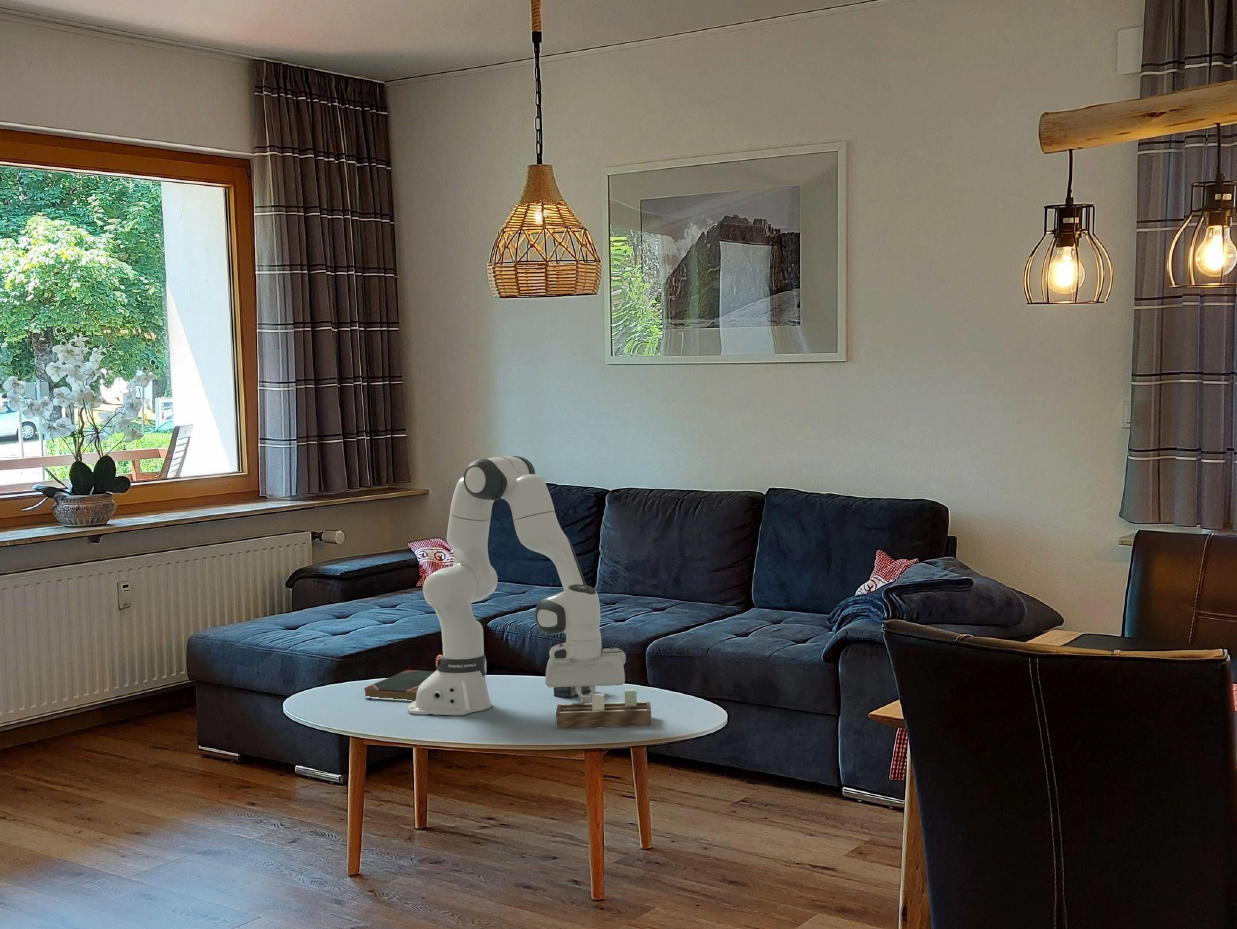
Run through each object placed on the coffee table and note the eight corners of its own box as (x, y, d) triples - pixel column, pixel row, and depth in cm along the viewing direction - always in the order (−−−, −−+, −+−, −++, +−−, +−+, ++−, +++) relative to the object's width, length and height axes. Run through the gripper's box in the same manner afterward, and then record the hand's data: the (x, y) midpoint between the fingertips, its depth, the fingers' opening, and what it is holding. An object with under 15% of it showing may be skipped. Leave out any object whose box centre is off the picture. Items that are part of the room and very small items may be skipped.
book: (407, 681, 381) (362, 700, 358) (406, 669, 381) (362, 688, 358) (458, 684, 375) (417, 704, 352) (458, 672, 375) (416, 691, 352)
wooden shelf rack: (556, 728, 319) (555, 712, 319) (558, 719, 328) (557, 703, 328) (651, 726, 319) (650, 709, 319) (650, 717, 328) (650, 701, 328)
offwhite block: (592, 717, 320) (592, 696, 320) (592, 715, 323) (592, 693, 322) (604, 717, 320) (603, 695, 320) (604, 715, 323) (603, 693, 322)
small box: (575, 688, 363) (574, 652, 362) (593, 691, 359) (592, 654, 358) (552, 696, 354) (551, 659, 354) (570, 699, 350) (569, 661, 350)
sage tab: (625, 713, 324) (624, 691, 324) (625, 710, 327) (624, 689, 326) (636, 712, 324) (636, 691, 324) (636, 710, 327) (636, 688, 326)
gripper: (625, 645, 324) (626, 698, 324) (545, 647, 324) (547, 701, 324) (625, 650, 317) (627, 704, 318) (543, 652, 317) (545, 707, 318)
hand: (586, 703), depth 321 cm, fingers closed
